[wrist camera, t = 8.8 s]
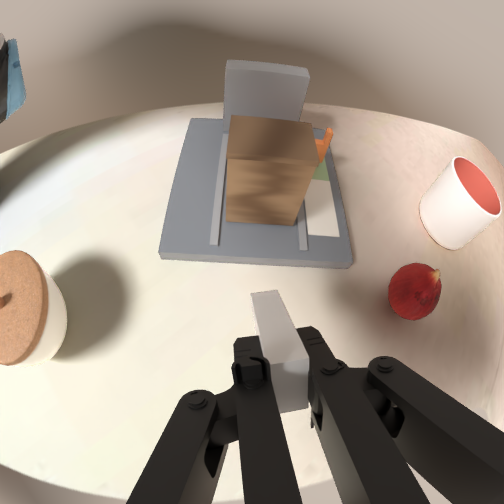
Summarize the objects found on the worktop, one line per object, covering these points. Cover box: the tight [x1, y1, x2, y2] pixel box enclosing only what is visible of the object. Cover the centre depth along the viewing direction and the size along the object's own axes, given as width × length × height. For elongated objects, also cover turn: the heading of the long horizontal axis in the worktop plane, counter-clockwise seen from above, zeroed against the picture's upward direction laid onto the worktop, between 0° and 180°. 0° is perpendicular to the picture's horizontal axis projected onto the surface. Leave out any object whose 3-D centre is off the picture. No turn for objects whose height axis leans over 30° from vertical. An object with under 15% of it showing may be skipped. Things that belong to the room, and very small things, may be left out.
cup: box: [419, 156, 501, 250], centre depth 30 cm, size 10×10×10 cm
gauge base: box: [158, 60, 353, 269], centre depth 28 cm, size 20×22×12 cm
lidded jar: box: [0, 250, 67, 367], centre depth 18 cm, size 11×11×9 cm
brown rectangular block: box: [226, 115, 320, 226], centre depth 25 cm, size 7×5×10 cm
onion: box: [388, 263, 441, 320], centre depth 24 cm, size 6×6×8 cm
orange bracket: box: [315, 128, 333, 163], centre depth 31 cm, size 11×1×5 cm, turn 89°
